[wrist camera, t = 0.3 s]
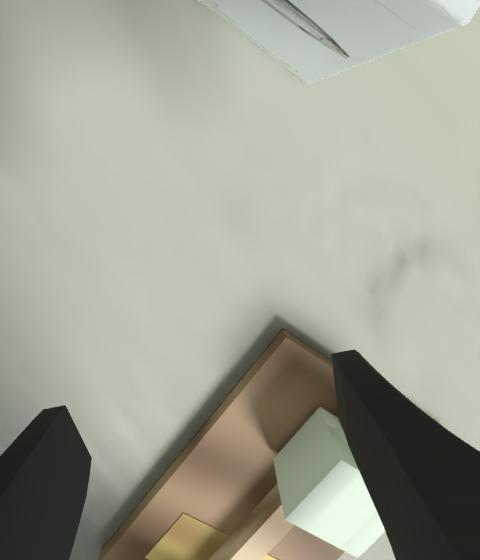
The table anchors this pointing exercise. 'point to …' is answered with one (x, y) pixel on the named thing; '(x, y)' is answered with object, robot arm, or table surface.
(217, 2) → the supplement box
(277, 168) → the table surface
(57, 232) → the table surface
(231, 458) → the track board
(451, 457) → the robot arm
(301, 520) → the block
